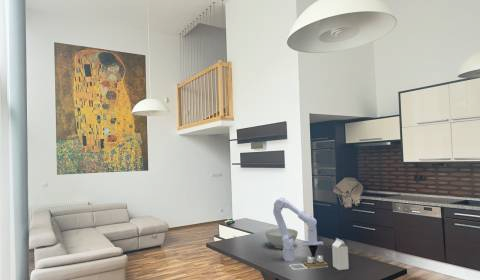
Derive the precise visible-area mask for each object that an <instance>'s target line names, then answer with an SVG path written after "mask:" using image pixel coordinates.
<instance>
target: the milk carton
mask: <svg viewBox="0 0 480 280" xmlns="http://www.w3.org/2000/svg"><path fill="white" fill-rule="evenodd" d="M331 249H332V252H331V253H332V267H333V268H335V269H336V270H338V271H343V270H349V269H350V268H349V248H348V246H347V244H345V242H344V240H342V239H339V238H337V237H336V239H335V241H334V242H333V243H332V245H331Z"/></svg>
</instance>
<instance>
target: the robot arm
mask: <svg viewBox="0 0 480 280" xmlns="http://www.w3.org/2000/svg"><path fill="white" fill-rule="evenodd" d="M283 209H289V210H290V211H292V212H293V213H294V214H295V215H297V218H298V219H300V220H301V221H302V222H304V223H305V224H306V225H307V227H308V229H307V233H308V235H307V236H308V237H307V238H308V242H302V247H308V248H309V251H310V254H311V256H313V257H315V258H316V252H317V250H318V248H319V246H323V245H324V242H323V241H318V235H317V234H318V232H317V223H318V222H317V219H316V218H315V217H313V216H312V215H309V214H308V213H307V211H304V210H300V209H298V207H296V206H295V205H294V204H292V203H291V202H290V201H289V200H287V199H286V198H284V197H279V198H278V199H276V200H275V202H274V203H273V211H272V213H273V216H274V219H275V221H276V223H277V226H278V228H279V229H280V231H281V234H282V240H283V246H284V248H283V249H282V259H284V261H285V262H294V261H295V259H296V258H295V246H294V245H295V242H296V241H294V239H293V238H292V237H291V235H290V234H289V232H288V230H287V229H288V227H287V225H286V223H285V219H284V217H283V215H282V210H283Z"/></svg>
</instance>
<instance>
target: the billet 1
mask: <svg viewBox="0 0 480 280" xmlns="http://www.w3.org/2000/svg"><path fill="white" fill-rule="evenodd" d="M306 262H307V264H309V265H312V264H313V256H312V255H308V256H306Z"/></svg>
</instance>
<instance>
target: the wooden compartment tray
mask: <svg viewBox="0 0 480 280" xmlns="http://www.w3.org/2000/svg"><path fill="white" fill-rule="evenodd" d="M303 265H304V266H305V267H306V268H307V269H306V270H310V269H319V268H320V269H321V268H328V267H329V266H328V263H327V262H326V261H325V260H323V263H322V264H317V261H313V264H312V265H309V264H307V261H303Z"/></svg>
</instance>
